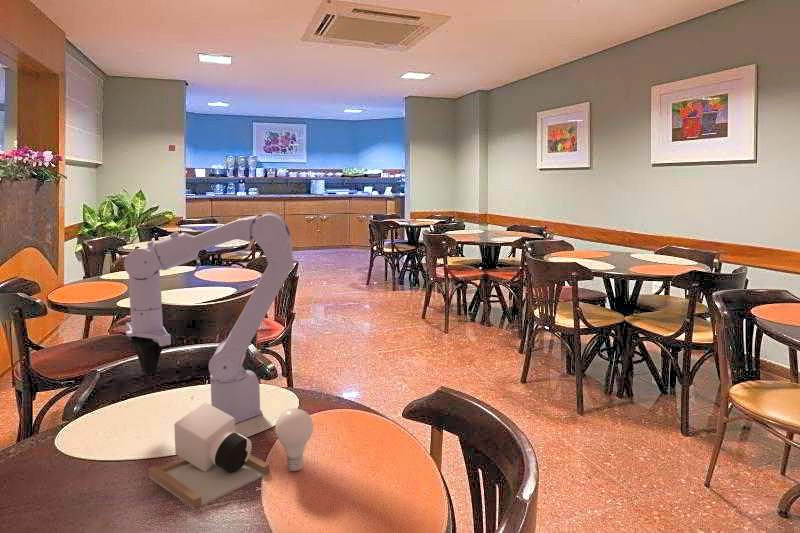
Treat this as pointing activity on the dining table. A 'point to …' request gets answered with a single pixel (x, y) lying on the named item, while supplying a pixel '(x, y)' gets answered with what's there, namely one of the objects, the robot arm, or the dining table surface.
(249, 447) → the medicine bottle
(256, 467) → the wooden serving tray
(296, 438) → the lightbulb
